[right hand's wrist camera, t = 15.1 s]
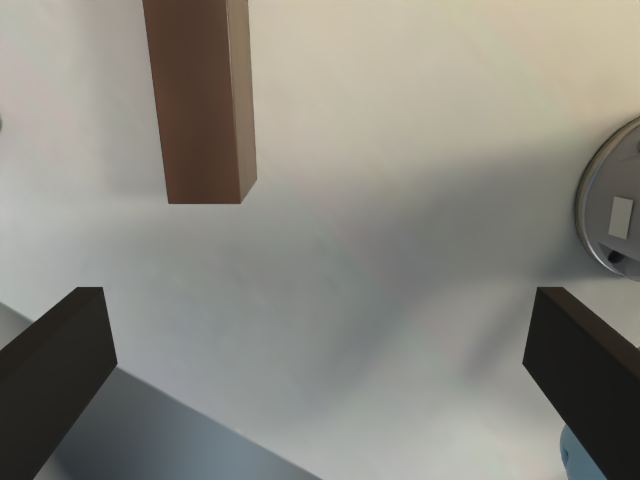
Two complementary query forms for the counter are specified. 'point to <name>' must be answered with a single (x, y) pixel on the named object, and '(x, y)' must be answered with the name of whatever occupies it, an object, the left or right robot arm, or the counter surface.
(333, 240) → the counter surface
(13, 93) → the counter surface
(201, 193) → the plank
